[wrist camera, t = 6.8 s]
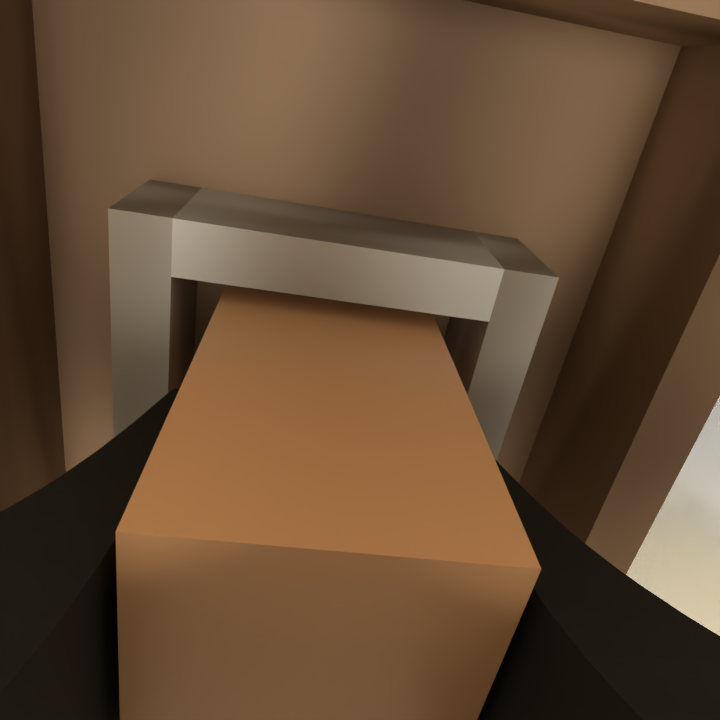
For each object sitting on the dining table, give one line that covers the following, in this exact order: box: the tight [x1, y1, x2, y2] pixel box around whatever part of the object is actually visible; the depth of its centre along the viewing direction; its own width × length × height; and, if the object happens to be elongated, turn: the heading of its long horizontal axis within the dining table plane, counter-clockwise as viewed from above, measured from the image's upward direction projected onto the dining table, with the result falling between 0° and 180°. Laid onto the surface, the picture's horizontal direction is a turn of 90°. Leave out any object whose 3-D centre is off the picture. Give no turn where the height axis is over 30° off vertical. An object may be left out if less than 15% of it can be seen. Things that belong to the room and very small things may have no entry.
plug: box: [116, 285, 541, 720], centre depth 9 cm, size 4×4×7 cm
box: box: [0, 0, 720, 575], centre depth 12 cm, size 14×18×4 cm
